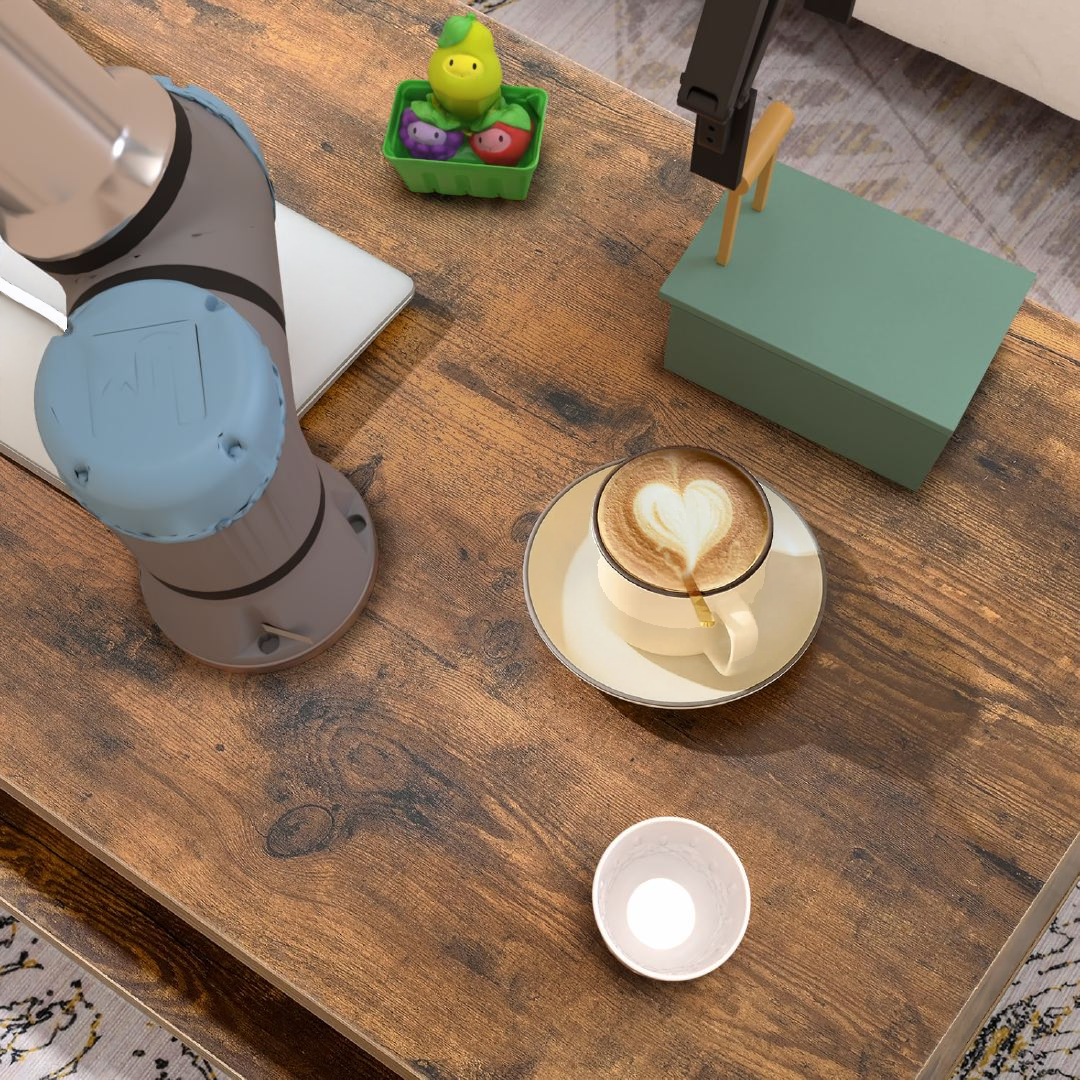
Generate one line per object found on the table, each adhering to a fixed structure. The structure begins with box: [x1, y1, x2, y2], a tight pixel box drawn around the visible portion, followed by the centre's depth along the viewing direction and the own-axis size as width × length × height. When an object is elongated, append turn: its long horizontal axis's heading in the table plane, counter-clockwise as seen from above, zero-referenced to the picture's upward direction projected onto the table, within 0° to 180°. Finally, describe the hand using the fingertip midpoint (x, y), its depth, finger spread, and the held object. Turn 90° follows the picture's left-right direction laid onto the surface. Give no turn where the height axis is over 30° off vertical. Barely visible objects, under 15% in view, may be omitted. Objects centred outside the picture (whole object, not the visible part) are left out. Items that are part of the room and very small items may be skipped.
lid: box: [657, 101, 1038, 438], centre depth 70 cm, size 20×13×10 cm, turn 59°
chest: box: [663, 304, 951, 493], centre depth 78 cm, size 19×13×8 cm
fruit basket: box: [381, 12, 549, 201], centre depth 84 cm, size 11×9×11 cm
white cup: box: [591, 816, 752, 982], centre depth 62 cm, size 8×8×10 cm
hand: (773, 92), depth 64 cm, fingers open, 13 cm apart
